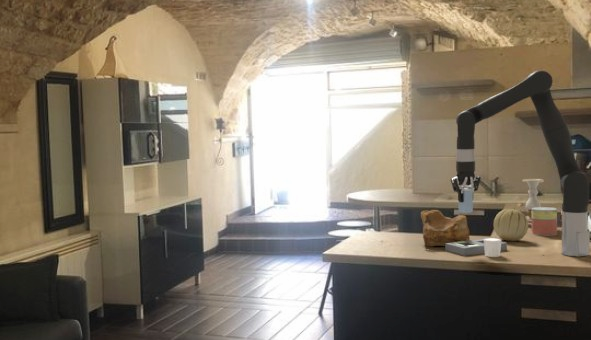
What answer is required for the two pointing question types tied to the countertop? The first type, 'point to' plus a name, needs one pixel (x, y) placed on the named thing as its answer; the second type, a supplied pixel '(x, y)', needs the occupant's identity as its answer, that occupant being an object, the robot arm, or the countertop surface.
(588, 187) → the robot arm
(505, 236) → the cantaloupe
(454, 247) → the socket panel
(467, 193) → the light blue cylinder
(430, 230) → the rough brown rock
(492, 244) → the shot glass
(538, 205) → the candle holder
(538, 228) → the canned food
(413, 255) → the countertop surface
